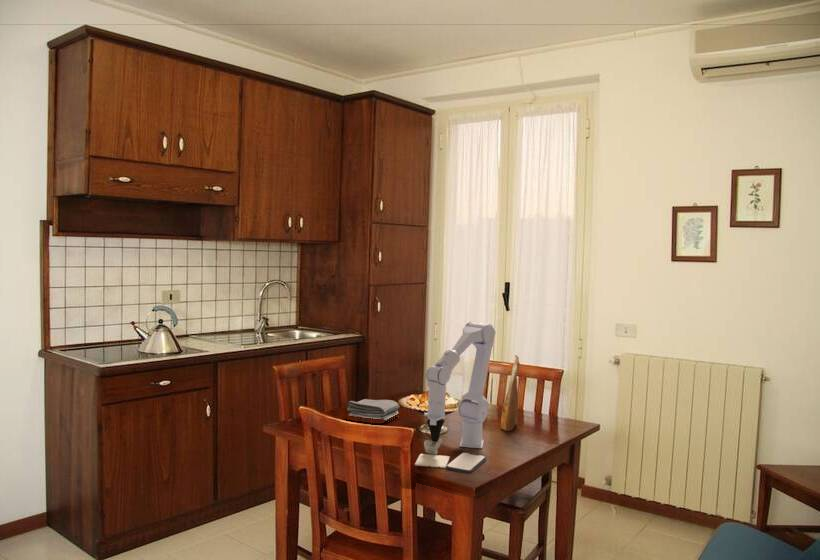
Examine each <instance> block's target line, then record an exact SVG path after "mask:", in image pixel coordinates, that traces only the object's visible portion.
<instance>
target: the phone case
mask: <svg viewBox="0 0 820 560" xmlns="http://www.w3.org/2000/svg"><path fill="white" fill-rule="evenodd" d="M486 460H487V457H486V456H484V455H482V454H481V455H480V454H476V453H471V452H461V453H460V454H459V455H458V456H456V457H455V458H454V459H452V460H451V461H450V462H448V463H447V465H446V468H445V470H448V469H450V470H449V471H452V470H455V471H454V472H458V471H459V472H458V473H463V472H465V473H464V474H472V473H473V472H474V471H476V470H477V469H478V468H479V467H480V466H481V465H482V464H484V463H485V462H486ZM477 467H478V468H477ZM471 472H472V473H471Z"/></svg>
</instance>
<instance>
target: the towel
mask: <svg viewBox="0 0 820 560" xmlns="http://www.w3.org/2000/svg"><path fill="white" fill-rule="evenodd" d="M346 409H347V411H348V412H349V413H348V415H349V416H354V417H362V418H371V419H372V418H373V419H383V420H387V419H389V418H391V417H393V416H395V415H397V414H399V411H398V409H400V404H399V403H398V402H396V401H395V400H391V399H370V398H369V399H368V398H365V399H361V400H359V401H354V400H350V401H348V407H347V408H346Z"/></svg>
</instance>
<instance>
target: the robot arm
mask: <svg viewBox="0 0 820 560" xmlns="http://www.w3.org/2000/svg"><path fill="white" fill-rule="evenodd" d="M495 336H496V330H495V328H494V326H493V325H492V324H491V323H480V322H474V321H468V322H466V324H465V325H464V327H463V328H462V334H461V336H460V337H459V339H458V340H457V341H456V343H455V345H454V346H453V347H452V349H447V350H445V351H444V353H443V354H442V355H441V357H440V358H439V359H438V361H437V362H436V363H435V364H433V365H430V366H429V367H428V368H427V370H426V373H425V379H426V381H427V386H428V399H427V400H428V403H427V412H424V414H423V415H424V417H427V418H428V419H427V420H426V424H427V426H428V429H429V433H430V439H431V440H430V441H433V442H434V443H437V441H438V440H439V438H441V437H440V435H441V433H442V432H441V431H442V428H443V425H444V423H445V421H446V414H445V413H446V395H447V394H446V393H447V391H446V390H447V383H448V382H449V381H450V379H451V376H452V373H453V372H452V371H453V370H454V369H455V367H456V366H457V365H458V363H459V362H460V360H461V358H460V356H461V355H462V354H464V352H465V351H466V350H467V348H469V347H470V346H471V345H473V346H474V347H475V349H476V351H475V356H474V362H473V367H472V372H471V375H470V376H471V377H470V381H469V387H468V391H467V392H466V393H464V394H463V395H462V396H461V400H460V402H459V404H458V407H457V413H458V415H459V416H460V419H461V420H462V426H461V428H462V429H461V440H460V443H459V447H460V448H471V449H483V447H484V442H485V441H484V439H483V423H484V422H485V420H486V419H487V417H488V415H489V409H488V407H489V406H488V405H489V401H488V400H487V398H486V397H485V396H484V391H485V387H486V382H487V381H486V380H487V376H488V370H489V365H490V360H491V354H492V350H493V347H494V343H495V342H494V341H495Z"/></svg>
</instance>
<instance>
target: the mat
mask: <svg viewBox="0 0 820 560" xmlns="http://www.w3.org/2000/svg"><path fill="white" fill-rule="evenodd" d="M450 458H451V456H448V455H440V454H439V455H438V454H437V455H434V454H430V453H420V454H419V455H418V457H417V459H416V460H415V461H416V462H415V463H414V466H419V467H429V466H430V468H431V467H432V468H439V467H440V469H446V465H448V464H449V461H450Z"/></svg>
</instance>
